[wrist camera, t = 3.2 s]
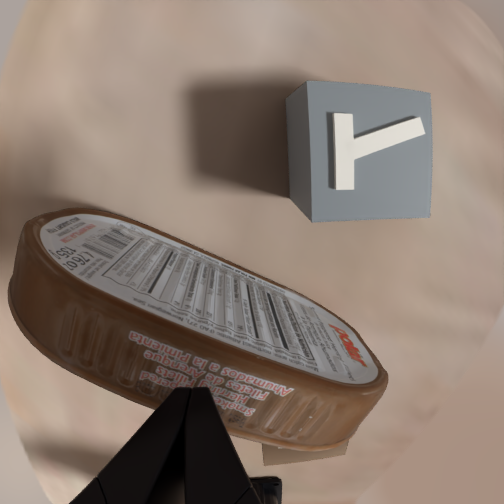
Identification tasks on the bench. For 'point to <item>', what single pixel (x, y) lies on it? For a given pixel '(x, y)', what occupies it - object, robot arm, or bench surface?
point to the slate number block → (359, 151)
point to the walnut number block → (297, 454)
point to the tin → (189, 329)
